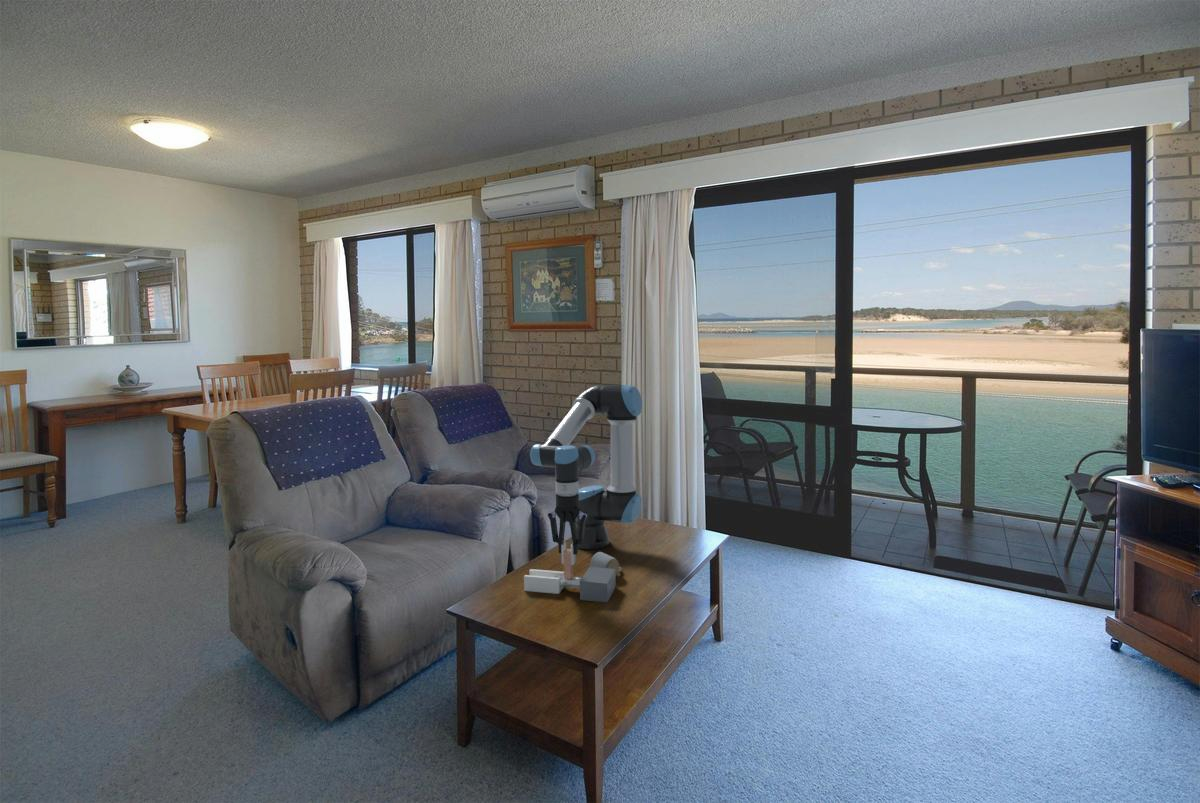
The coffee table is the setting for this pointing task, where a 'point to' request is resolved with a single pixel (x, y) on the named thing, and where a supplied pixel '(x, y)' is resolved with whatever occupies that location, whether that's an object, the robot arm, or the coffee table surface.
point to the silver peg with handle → (568, 573)
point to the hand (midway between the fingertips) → (568, 562)
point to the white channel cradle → (543, 581)
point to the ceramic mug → (605, 562)
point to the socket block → (597, 584)
